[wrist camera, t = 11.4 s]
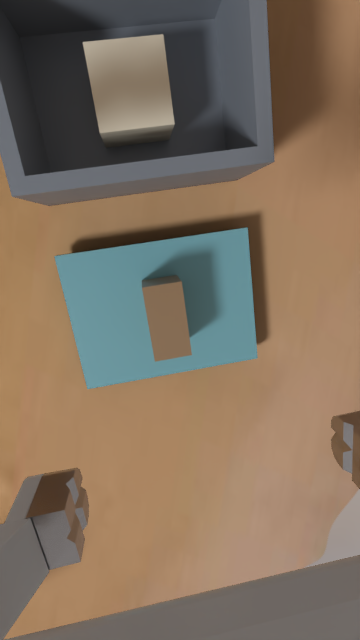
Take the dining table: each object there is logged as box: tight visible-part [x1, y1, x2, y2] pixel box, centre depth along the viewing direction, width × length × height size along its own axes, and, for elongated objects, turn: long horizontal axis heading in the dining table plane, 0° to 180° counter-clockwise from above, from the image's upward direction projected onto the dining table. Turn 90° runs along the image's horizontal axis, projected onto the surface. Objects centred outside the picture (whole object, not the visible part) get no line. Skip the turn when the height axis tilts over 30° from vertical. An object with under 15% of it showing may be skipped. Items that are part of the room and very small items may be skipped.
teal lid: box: [55, 228, 257, 389], centre depth 27 cm, size 12×16×6 cm
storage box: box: [0, 0, 274, 206], centre depth 22 cm, size 12×16×8 cm
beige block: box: [83, 34, 175, 148], centre depth 22 cm, size 5×5×4 cm
